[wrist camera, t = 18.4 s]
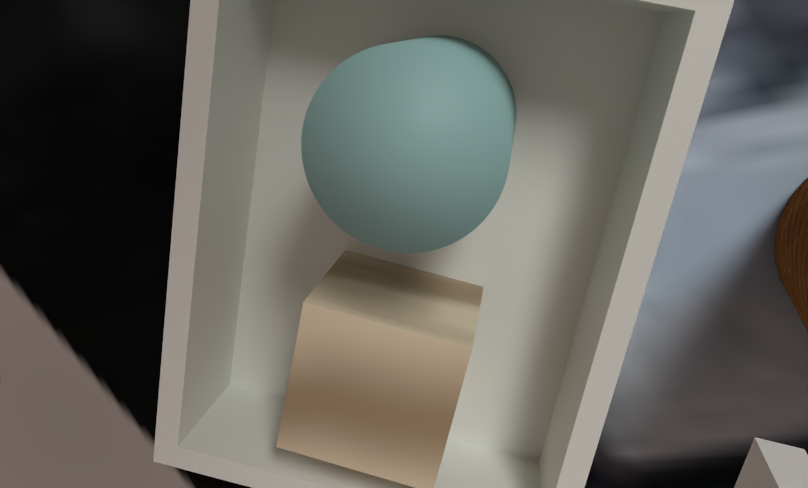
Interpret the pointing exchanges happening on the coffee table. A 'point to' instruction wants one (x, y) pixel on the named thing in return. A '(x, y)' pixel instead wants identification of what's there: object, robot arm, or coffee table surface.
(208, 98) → the tote
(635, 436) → the coffee table surface
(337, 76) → the teal capsule
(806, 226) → the disposable coffee cup
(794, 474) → the robot arm
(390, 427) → the beech cube
